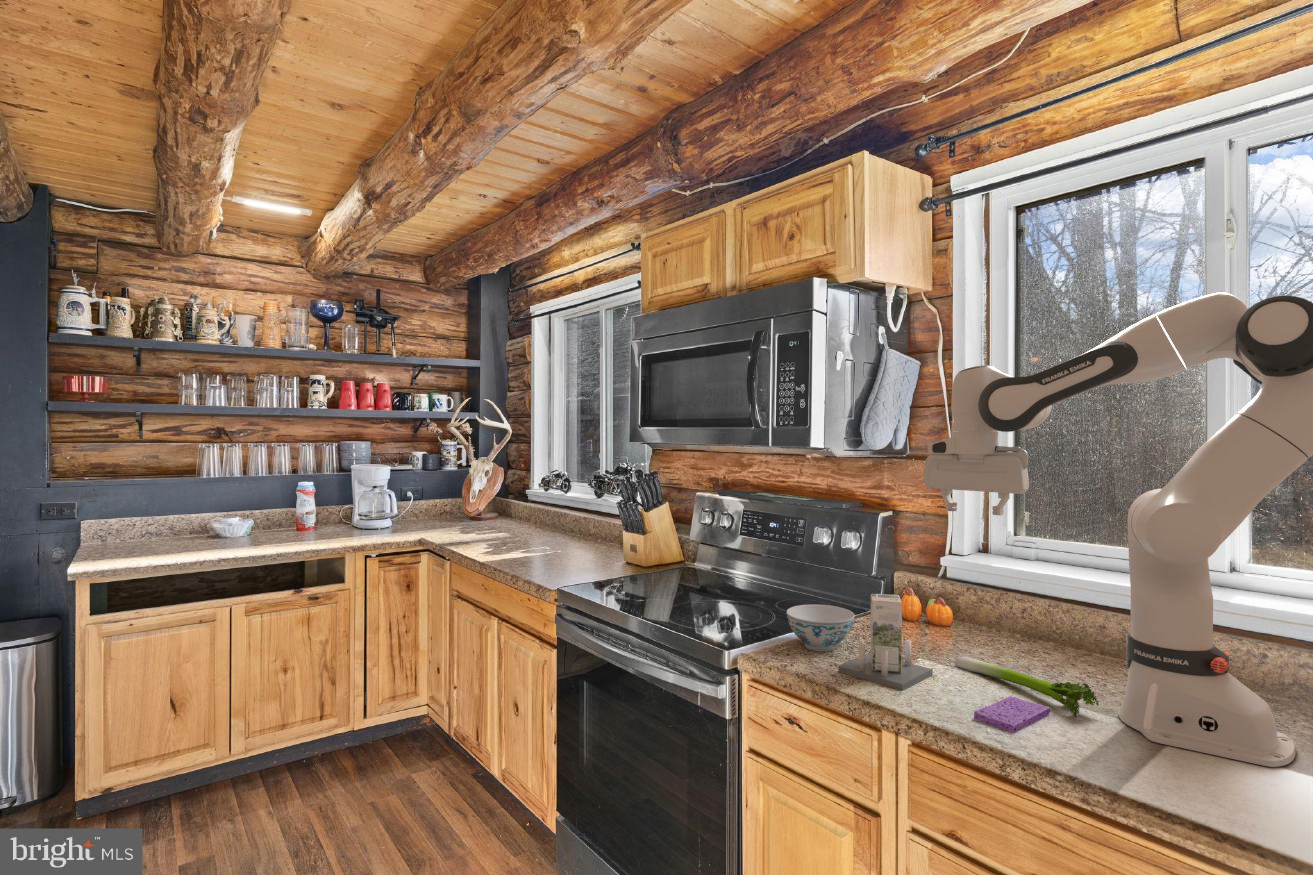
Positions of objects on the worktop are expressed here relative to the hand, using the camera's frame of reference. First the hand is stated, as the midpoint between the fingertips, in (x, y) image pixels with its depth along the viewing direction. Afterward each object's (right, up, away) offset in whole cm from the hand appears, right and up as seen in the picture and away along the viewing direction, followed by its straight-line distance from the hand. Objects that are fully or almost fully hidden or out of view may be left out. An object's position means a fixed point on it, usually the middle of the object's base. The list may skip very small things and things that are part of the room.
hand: (974, 512), depth 143 cm
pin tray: (-19, -32, -2) cm, 37 cm away
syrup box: (-19, -31, -2) cm, 37 cm away
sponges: (-4, -33, -23) cm, 41 cm away
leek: (+3, -33, -11) cm, 35 cm away
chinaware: (-28, -32, +15) cm, 45 cm away
